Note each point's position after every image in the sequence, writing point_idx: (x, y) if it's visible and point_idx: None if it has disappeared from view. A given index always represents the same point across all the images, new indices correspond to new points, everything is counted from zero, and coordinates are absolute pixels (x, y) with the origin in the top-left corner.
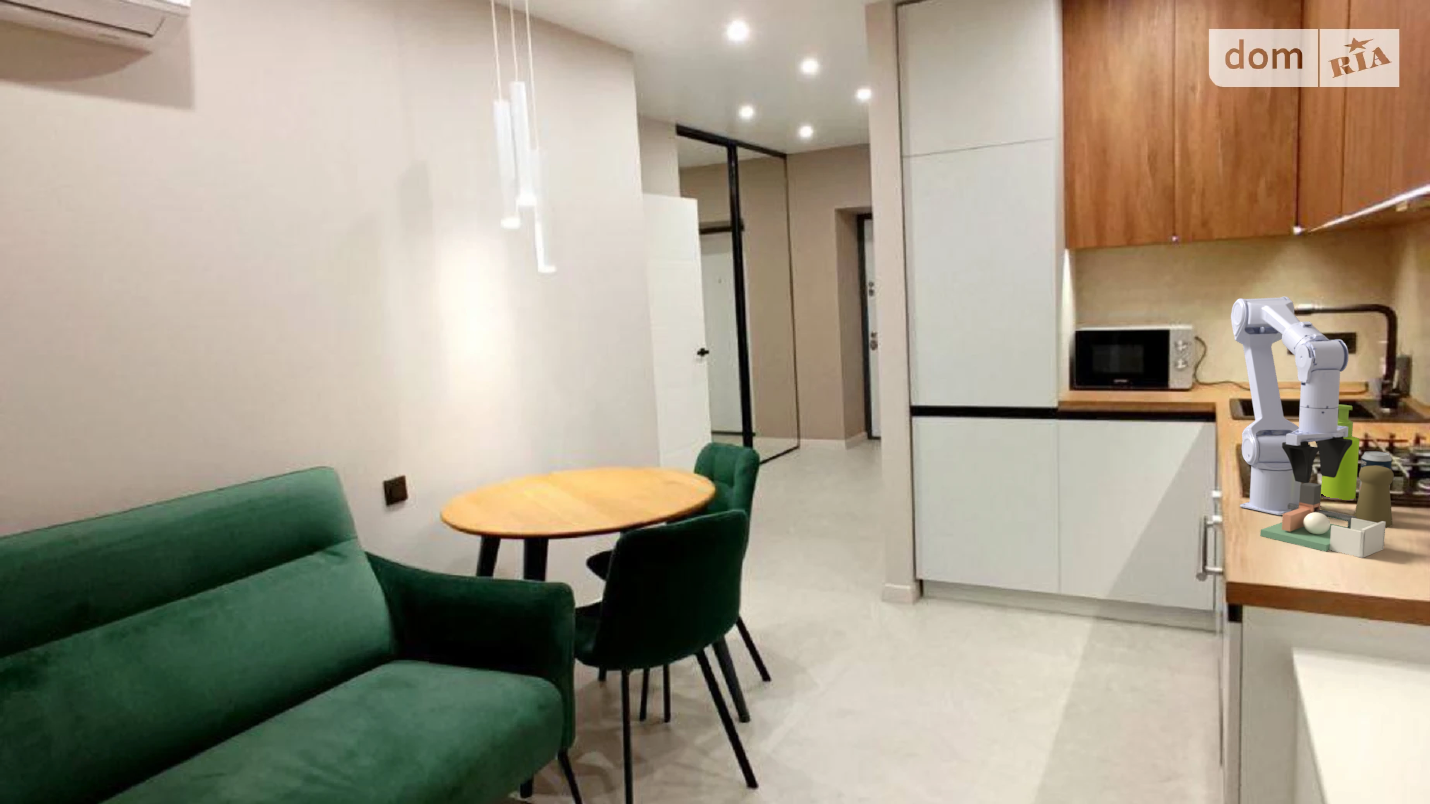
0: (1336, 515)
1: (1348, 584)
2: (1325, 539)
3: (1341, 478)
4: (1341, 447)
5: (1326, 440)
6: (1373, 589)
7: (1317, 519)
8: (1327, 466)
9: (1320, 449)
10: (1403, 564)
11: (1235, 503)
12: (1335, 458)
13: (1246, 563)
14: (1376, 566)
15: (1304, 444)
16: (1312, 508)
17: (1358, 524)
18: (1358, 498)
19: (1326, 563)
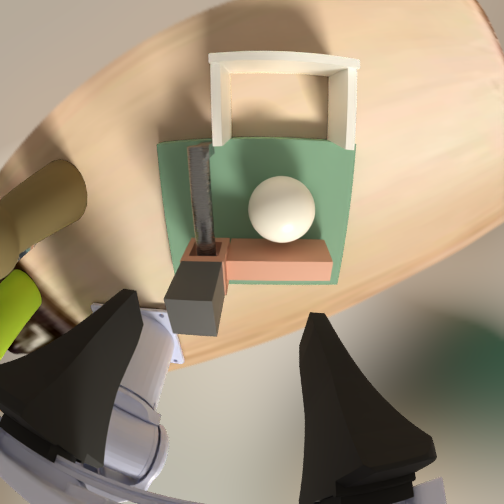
0: (210, 194)
1: (485, 67)
2: (311, 163)
3: (9, 305)
4: (53, 394)
5: (80, 453)
6: (477, 35)
7: (308, 205)
8: (122, 342)
9: (105, 421)
10: (307, 4)
11: (169, 368)
12: (92, 355)
13: (487, 218)
14: (368, 37)
15: (378, 494)
16: (225, 256)
17: (224, 122)
18: (46, 236)
19: (423, 116)
